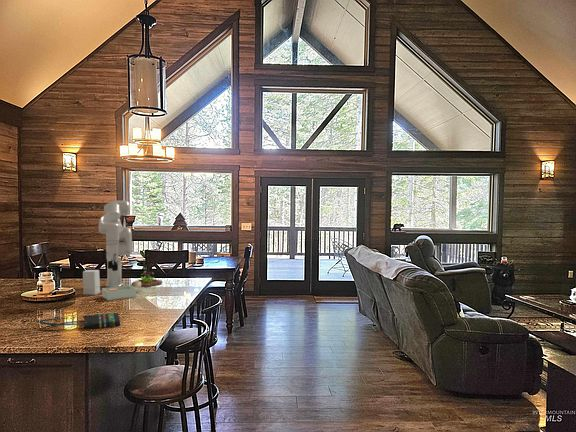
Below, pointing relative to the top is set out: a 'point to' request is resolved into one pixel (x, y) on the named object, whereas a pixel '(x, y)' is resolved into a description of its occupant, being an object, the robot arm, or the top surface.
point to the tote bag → (90, 321)
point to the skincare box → (91, 282)
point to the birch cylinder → (137, 286)
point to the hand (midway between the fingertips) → (112, 269)
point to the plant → (148, 280)
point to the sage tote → (119, 293)
